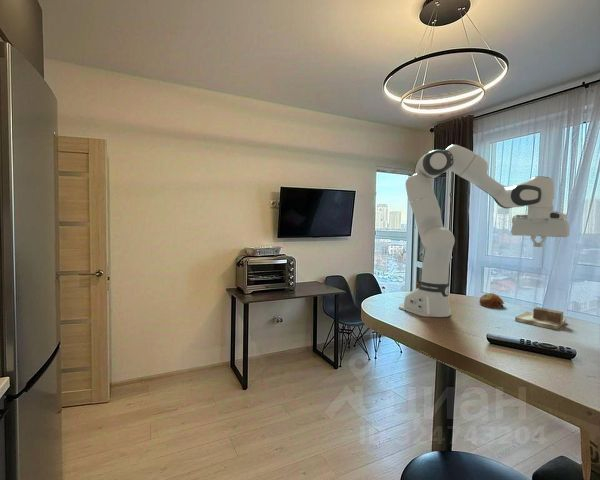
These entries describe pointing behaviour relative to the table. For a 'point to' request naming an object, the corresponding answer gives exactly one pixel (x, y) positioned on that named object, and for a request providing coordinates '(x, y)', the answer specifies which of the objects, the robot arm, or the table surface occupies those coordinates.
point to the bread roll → (491, 301)
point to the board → (538, 321)
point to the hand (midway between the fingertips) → (537, 246)
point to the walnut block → (548, 315)
